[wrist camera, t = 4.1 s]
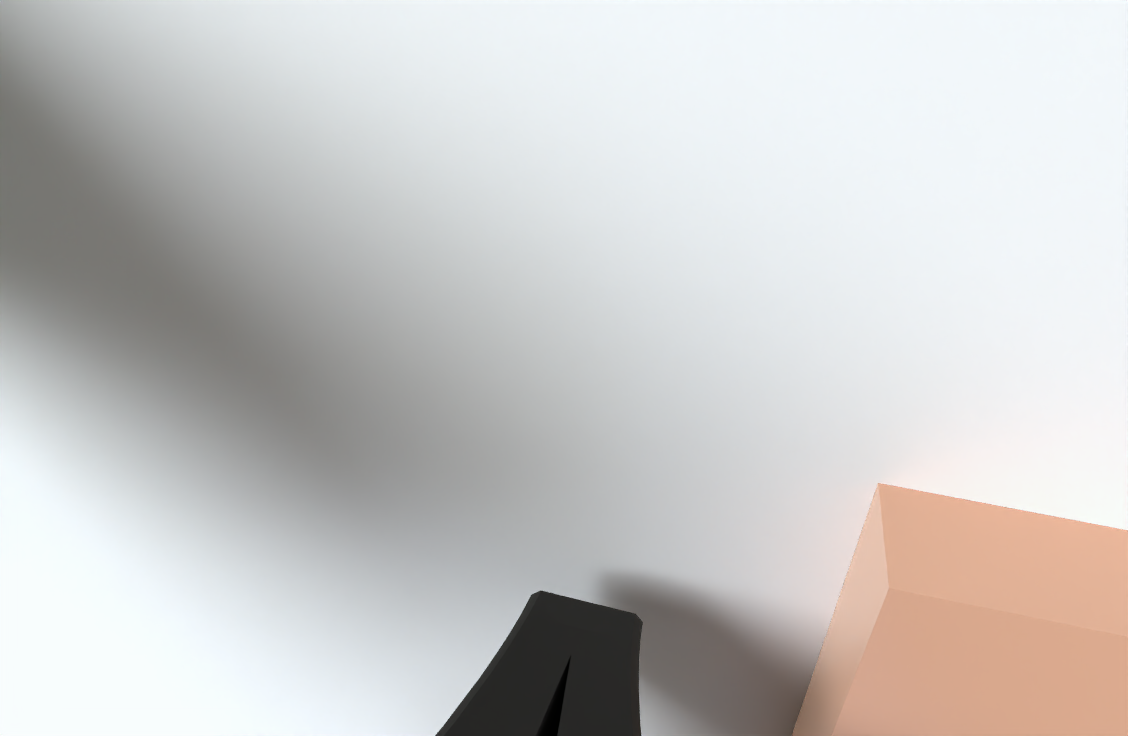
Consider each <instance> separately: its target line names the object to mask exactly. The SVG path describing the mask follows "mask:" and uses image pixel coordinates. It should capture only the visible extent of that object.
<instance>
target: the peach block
mask: <svg viewBox="0 0 1128 736" xmlns="http://www.w3.org/2000/svg"><path fill="white" fill-rule="evenodd" d="M792 736H1128V530H1122V529H1117V528H1112V527H1107V526H1101V525H1096V524H1091V523H1086V522H1080V521H1075V520H1070V519H1065V518H1059V517H1054V516H1049V515H1044V514H1038V513H1033V512H1028V511H1023V510H1017V509H1012V508H1007V507H1001V506H996V505H991V504H986V503H980V502H975V501H970V500H965V499H959V498H954V497H949V496H944V495H938V494H933V493H928V492H923V491H917V490H912V489H907V488H902V487H896V486H891V485H886V484H881V483H878V485H877V488H876V491H875V494H874V497H873V499H872V502H871V505H870V508H869V511H868V514H867V517H866V520H865V523H864V526H863V529H862V532H861V534H860V537H859V540H858V543H857V546H856V549H855V552H854V555H853V558H852V561H851V564H850V567H849V569H848V572H847V575H846V578H845V581H844V584H843V587H842V590H841V593H840V596H839V599H838V602H837V604H836V607H835V610H834V613H833V616H832V619H831V622H830V625H829V628H828V631H827V634H826V637H825V639H824V642H823V645H822V648H821V651H820V654H819V657H818V660H817V663H816V666H815V669H814V672H813V674H812V677H811V680H810V683H809V686H808V689H807V692H806V695H805V698H804V701H803V704H802V707H801V709H800V712H799V715H798V718H797V721H796V724H795V727H794V730H793V733H792Z"/></svg>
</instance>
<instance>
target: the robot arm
mask: <svg viewBox="0 0 1128 736" xmlns="http://www.w3.org/2000/svg"><path fill="white" fill-rule="evenodd" d="M642 624H643V622H642V621H641V620H640V619H639V617H638V616H637V615H636V614H634V613H630V612H626V611H622V610H618V609H614V608H610V607H606V606H602V605H597V604H593V603H589V602H585V601H581V600H577V599H573V598H569V597H565V596H561V595H557V594H553V593H549V592H545V591H539V592H537V593H534V594H532V595H531V597H530V599H529V601H528V602H527V604H526V606H525V608H524V610H523V612H522V614H521V615H520V617H519V619H518V620H517V622H516V624H515V626H514V627H513V629H512V631H511V632H510V634H509V635H508V637H507V638H506V640H505V642H504V643H503V645H502V646H501V648H500V649H499V651H498V652H497V654H496V655H495V657H494V658H493V659H492V661H491V662H490V664H489V665H488V667H487V668H486V670H485V671H484V672H483V674H482V675H481V677H480V678H479V680H478V681H477V682H476V684H475V685H474V686H473V688H472V689H471V690H470V692H469V693H468V694H467V695H466V697H465V698H464V699H463V701H462V702H461V703H460V705H459V706H458V707H457V709H456V710H455V711H454V713H453V714H452V715H451V717H450V718H449V719H448V720H447V722H446V723H445V724H444V726H443V727H442V728H441V729H440V731H439V732H438V733H437V734H436V736H641V728H640V710H639V650H640V637H641V630H642Z"/></svg>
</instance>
